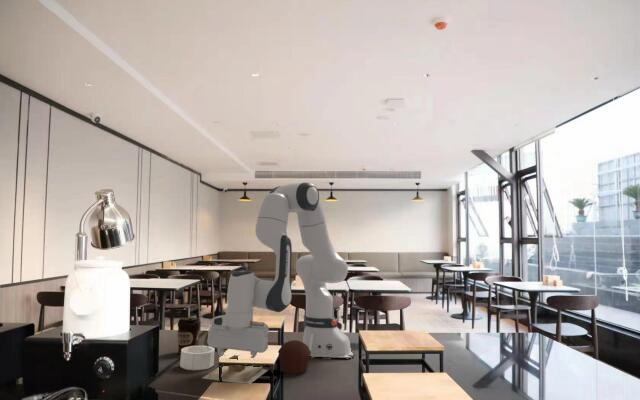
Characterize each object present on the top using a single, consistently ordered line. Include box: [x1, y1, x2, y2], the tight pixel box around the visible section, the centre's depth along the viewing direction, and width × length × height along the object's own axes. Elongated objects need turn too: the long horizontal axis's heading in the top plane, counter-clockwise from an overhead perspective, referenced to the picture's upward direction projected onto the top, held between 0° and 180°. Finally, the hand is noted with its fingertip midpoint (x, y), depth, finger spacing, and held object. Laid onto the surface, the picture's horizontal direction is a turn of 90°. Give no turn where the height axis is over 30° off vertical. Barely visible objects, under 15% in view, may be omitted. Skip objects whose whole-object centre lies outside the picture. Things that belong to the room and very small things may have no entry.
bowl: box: [179, 345, 216, 371], centre depth 146 cm, size 11×11×6 cm
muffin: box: [277, 339, 311, 375], centre depth 146 cm, size 12×11×10 cm
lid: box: [208, 354, 264, 382], centre depth 139 cm, size 13×13×5 cm
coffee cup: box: [177, 316, 201, 355], centre depth 164 cm, size 9×8×13 cm
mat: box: [202, 368, 269, 384], centre depth 138 cm, size 16×16×1 cm
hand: (236, 363), depth 139 cm, fingers open, 8 cm apart
